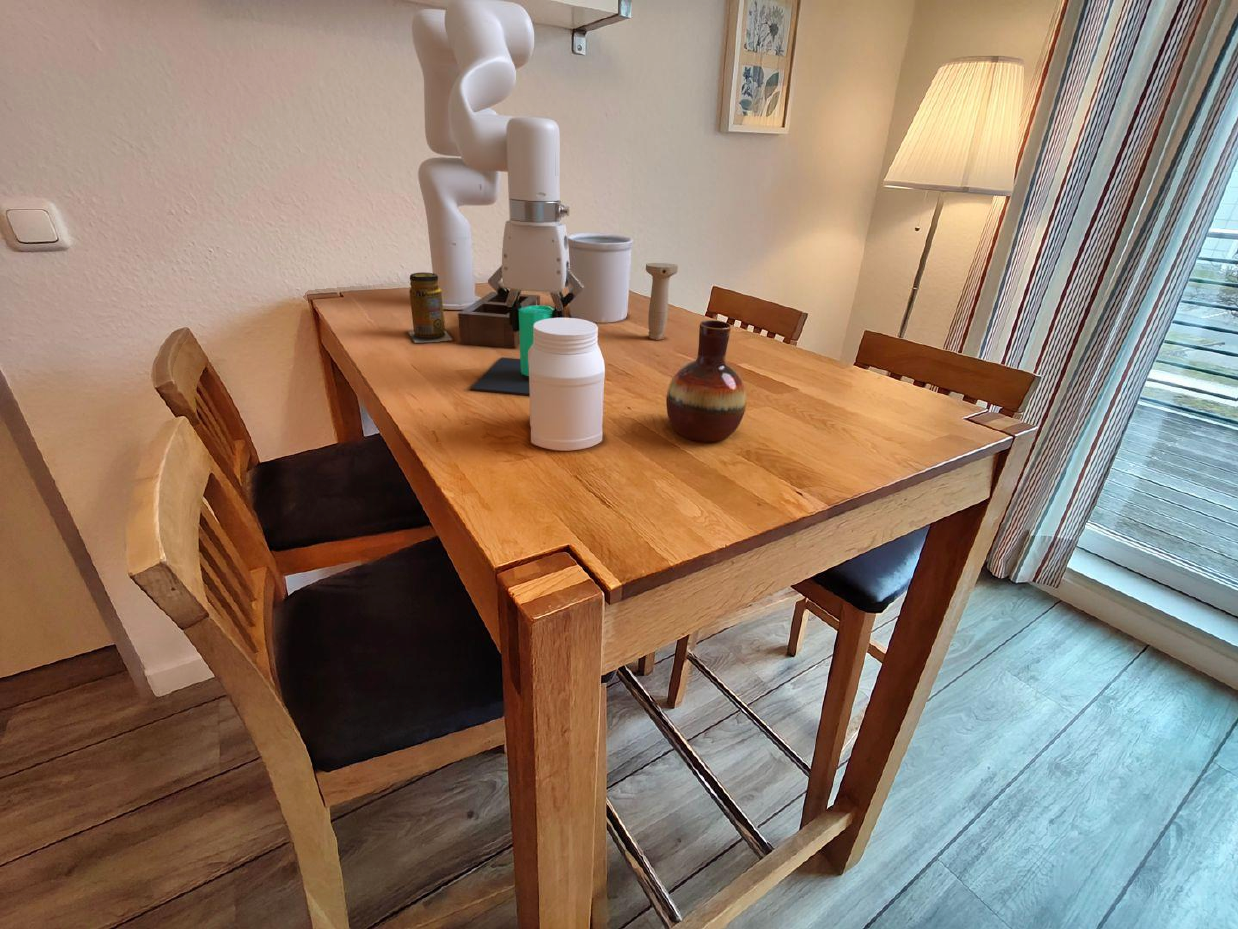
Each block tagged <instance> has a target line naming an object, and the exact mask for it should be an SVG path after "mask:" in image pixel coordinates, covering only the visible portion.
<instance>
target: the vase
mask: <svg viewBox="0 0 1238 929" xmlns="http://www.w3.org/2000/svg"><path fill="white" fill-rule="evenodd" d="M698 327H699V329H698V349H697V357H696V359H695V360H692V361H690V362H688V363H687V364H685V365H683V366H682V367H681V368H680V369H679V370H678V371H677V372H676V373H675V374H674V375H673V377H672V379H671V380H670V382H669V384H668V388H667V392H666V399H665V401H666V402H665V403H666V413H667V417H668V420H669V422H670V425H671V427H672V428H673V429H674V431H675V432H676V433H677V434H679V435H680V436H681V437H684V438H685V439H688V440H691V441H695V442H701V443H714V442H720V441H723V440H725V439H727V438H729V437H730V436H732V435H733V433H734V432H735V431H736V430H737V429H738V428H739V426H740V424H741V422H742V420H743V417H744V415H745V412H746V408H747V389H746V386H745V384H744V381H743V378H742V377H741V376H740V374H739V373H738V372H737V370H735V369H734V368H733V367H732V366H731V365H730V364H728V363H726V355H727V349H728V344H729V339H730V335H731V330H732V325H731V324H730V323H728V322H726V321H721V320H712V319H711V320H710V319H709V320H703V321H700V322H699V326H698Z"/></svg>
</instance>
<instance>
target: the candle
mask: <svg viewBox="0 0 1238 929" xmlns="http://www.w3.org/2000/svg"><path fill="white" fill-rule="evenodd" d="M554 309H555V308H552V307H551V306H550V305H541V304H540V305H538V306H537V299H536V306H528V307H524V308H520V309H518V316H519V339H520V344H519V357H520V358H519V359H520V361H521V373H522V374H524V375H526V376H529V365H528V350H529V349H530V347H531V346H532V344H533V342H534V341H533V338H534V337H533V334H534V332H533V325H534V324H535V323H536V322H538V321H540V320H544V319H549V318H552V312H553V310H554Z"/></svg>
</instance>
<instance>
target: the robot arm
mask: <svg viewBox="0 0 1238 929" xmlns="http://www.w3.org/2000/svg"><path fill="white" fill-rule="evenodd" d="M411 35H412V42H413V46H414V51H415V53H416V54H415V55H416V56H417V59H418V63H419V65H420V69H421V72H422V77H423V94H424V95H423V102H424V104H423V105H424V106H423V108H424V112H423V113H424V133H425V140H426V144H427V146H428V148H429V149H430V151H432V152H433V153H435V154H438V155H442V156H443V157H441V156H440V157H430V158H427V159H425V160H424V161H422V162H421V164H419V167H418V169H417V170H418V171H417V177H418V178H417V179H418V183H419V187H420V192H421V196H422V199H423V205H424V210H425V215H426V223H427V232H428V241H429V251H430V261H431V270H432V272H431V273H434V274H436V275H437V276H438V283H439V288H440V289H441V293H442V304H443V310H446V311H447V310H448V311H463V310H464V309H466V308H467V307H469V306H470V305H472V304H473V303H475V302H476V301H478V300H480V299H481V298H482V297H480V296H479V295H476V282H475V269H474V268H475V266H474V253H473V238H472V229H471V225H470V223H469V220H468V219H467V218H466V217H465V215H464V214H463V213H462V212H461V211H460V210H459V208H458V207H463V206H464V207H465V206H469V207H470V206H471V207H472V206H474V207H475V206H481V207H482V206H491V205H494V204H496V202H497V200H498V198H499V195H500V189H501V188H500V187H501V176H502V173H507V189H508V191H507V192H508V193H507V194H508V215H509V216H508V218H509V220H506V221H505V222H504V229H503V238H502V239H503V240H502V250H501V265H500V266H499V267H498V268H497V269H496V270H495V272H493V274H492V275H490V277H489V278H488V279H487V283H488V285H489V286H490V287H491V288H492V289H493V290H494V292H497V293H498V295H499V296H500V297H501V298H502V299H503V300H504V301H505V302H506V305H507V306H508V307H509V320H510V325H512V328H513V332H517V331H518V330H519V316H518V309H520V308H521V305H520V303H519V301H518V299H519V297H520V294H522V291H524V292H535V293H536V292H537V293H549V294H550V297H551V299H552V303H553V306H554V308H553V309H554V310H553V312H552V318H565V308H566V307H567V306H569V303H570V302H571V301H572V300H573V299H574V298H575V297H576V296H578V295H579V294H580V293H581V292H582V291H583V290H584V288H585V287H584V285H583V284H582V282H581V281H580V280H579V279H578V278H577V277H576V275H575V274H574V273H573V272H572V271H571V270H570V261H569V247H568V238H567V236H568V231H567V226H566V223H563V222H561V220H562V218H564V217H569V216H570V206H565V205H563V203H562V201H561V189H560V188H561V172H560V171H561V135H560V134H561V133H560V127H559V125H558V122H556V121H555V120H553V119H552V118H547V117H537V116H536V117H535V116H514V115H503V114H498V113H497V112H496V111H495V110H494V109H493V108H490V107H493V106H495V105H497V104H500V103H501V102H503V101H504V100H506V99H507V98H508V97H509V96H510V95H511V93H512V92H513V90H514V88H515V86H516V82H517V69H519V68H522V67H523V66H525V65H526V64H528V62H529V61H530V60H531V57H532V55H533V52H534V49H535V30H534V25H533V21H532V19H531V17H530V15H529V13H528V12H527V10H526V8H524V7H523V6H522V5H520V4H519V3H516V2H512V1H506V0H451V1H450V2H449V4H448V5H447V7H446V9H436V8H424V9H423V8H422V9H419V10H418V11H416V12H415V13H414V15H413V18H412V23H411ZM444 156H449V157H444ZM459 157H460V158H459ZM501 280H502V281H501ZM569 283H570V284H571V285H572V290H571V291H570V292H569V291H568V293H566V295H564V292H563V291H564V290H565V288H566V287H569Z"/></svg>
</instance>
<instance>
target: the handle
mask: <svg viewBox="0 0 1238 929" xmlns="http://www.w3.org/2000/svg"><path fill="white" fill-rule="evenodd" d="M678 270H679V265H678V264H676V263H669V262H668V263H667V262H648V263H646V264H645V272H646V273H648V274H649V275H651V277H652V278H651V279H652V282H651V292H650V298H649V306H648V318H647V319H648V321H647V323H648V338H649V339H650V340H655V341H660V340H663V339H664V338H665V331H666V328H667V324H668V316H669V315H668V314H669V288H670V286H669V285H670V279H671V277H673V276H674V275H676V274H677V273H678Z"/></svg>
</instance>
